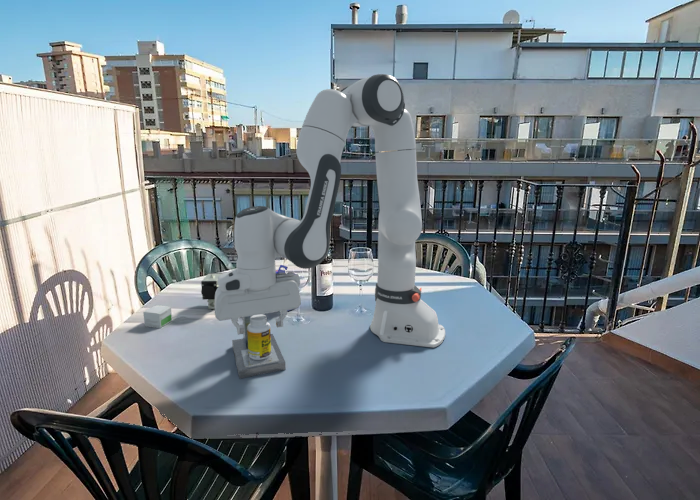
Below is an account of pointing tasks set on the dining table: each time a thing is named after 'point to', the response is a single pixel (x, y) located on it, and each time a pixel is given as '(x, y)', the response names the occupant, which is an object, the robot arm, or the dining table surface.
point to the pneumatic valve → (210, 288)
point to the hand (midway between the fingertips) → (260, 329)
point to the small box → (157, 316)
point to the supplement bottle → (259, 337)
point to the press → (252, 366)
